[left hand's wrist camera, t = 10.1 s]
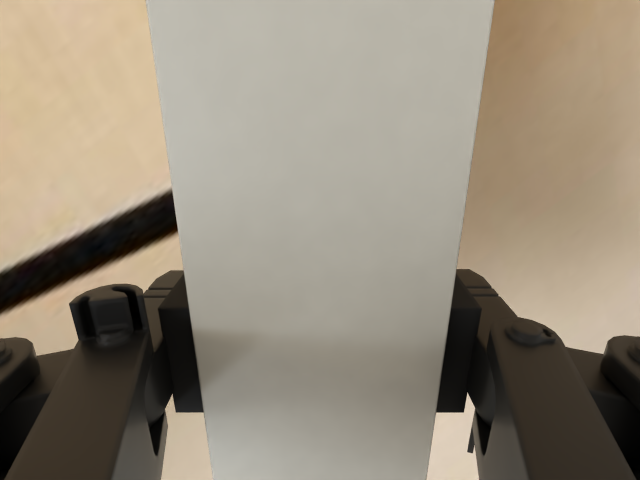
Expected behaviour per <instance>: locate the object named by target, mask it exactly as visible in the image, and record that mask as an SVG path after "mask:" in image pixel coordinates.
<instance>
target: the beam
mask: <svg viewBox="0 0 640 480" xmlns="http://www.w3.org/2000/svg"><path fill="white" fill-rule="evenodd" d="M494 2H495V0H146V6H147V13H148V20H149V27H150V34H151V41H152V48H153V55H154V63H155V70H156V77H157V84H158V91H159V98H160V105H161V112H162V119H163V126H164V134H165V141H166V148H167V155H168V162H169V169H170V176H171V183H172V190H173V197H174V204H175V212H176V219H177V226H178V233H179V240H180V247H181V254H182V261H183V268H184V275H185V283H186V290H187V297H188V304H189V311H190V318H191V325H192V332H193V339H194V346H195V353H196V361H197V368H198V375H199V382H200V389H201V396H202V403H203V410H204V417H205V424H206V431H207V439H208V446H209V453H210V460H211V467H212V474H213V480H426V479H427V472H428V465H429V458H430V451H431V444H432V437H433V430H434V423H435V415H436V408H437V401H438V394H439V387H440V380H441V373H442V366H443V359H444V352H445V345H446V338H447V331H448V324H449V317H450V310H451V303H452V296H453V289H454V282H455V275H456V268H457V261H458V254H459V247H460V240H461V233H462V226H463V219H464V212H465V205H466V198H467V191H468V184H469V177H470V170H471V163H472V156H473V149H474V142H475V135H476V128H477V121H478V114H479V107H480V100H481V93H482V86H483V79H484V72H485V65H486V58H487V51H488V44H489V37H490V30H491V23H492V16H493V9H494Z"/></svg>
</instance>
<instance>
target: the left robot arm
mask: <svg viewBox="0 0 640 480" xmlns="http://www.w3.org/2000/svg"><path fill="white" fill-rule="evenodd" d="M69 306H70V309H71V313H72V317H73V320H74V324H75V328H76V331H77V335H78V339H79V340H78V342H77V344H76V346H75V348H74V349H71V350H66V351H61V352H56V353H50V354H45V355H40V356H36V353H35V350H34V347H33V344H32V342H30V341H29V340H27V339H25V338H17V337H14V338H5V339H3V338H2V339H0V480H161V475H162V467H163V459H164V452H165V444H166V436H167V429H168V424H167V418H166V412H165V408H166V406H167V404H168V402H169V400H170V397H171V395H172V393H173V399H174V404H175V410H176V412H204V410H203V403H202V396H201V389H200V382H199V375H198V368H197V361H196V353H195V346H194V339H193V332H192V325H191V318H190V311H189V304H188V297H187V290H186V283H185V275H184V271H169V272H167V273H166V274H164V275H162V276H160V277H159V278H157V279H156V280H155V281H154V282H153V283H152V285H151V286H150V287H149V288H148V290H146V291H145V293H144V294H143V290H142V289H141V288H139V287H138V286H136V285H131V284H112V285H107V286H102V287H98V288H95V289H92V290H89V291H87V292H85V293H83V294H81V295H79V296H77V297H76V298H75V299H74V300H73V301H71V302H70V303H69ZM467 392H468V394H469V396H470V398H471V400H472V402H473V404H474V406H475V412H474V418H473V423H472V428H471V433H470V439H469V444H468V451H467V452H469V453H473V449H474V445H475V451H476V458H477V466H478V474H479V480H640V337H634V336H625V335H624V336H616V337H613V338H611V339H610V340H609V341H608V342H607V345H606V348H605V352H604V354H599V353H594V352H588V351H583V350H578V349H572V348H568V347H565V345H564V343H563V342H562V340H561V338H560V337H559V336H558V335H557V334H556V333H555V332H554V331H553V330H551V329H550V328H548V327H546V326H545V325H543V324H540V323H538V322H535V321H533V320H529V319H524V318H520V317H517V315H516V314H515V313H514V312H513V311H512V310H511V309H510V307H509V306H508V305H507V304H506V303H505V302H504V300H503V299H502V298H501V297H498V294H497V292H496V291H495V290H494V289H492V288H491V286H490V284H489V283H488V282H487V281H486V280H485V279H484V278H483V277H482V276H480V275H478V274H477V273H475V272H473V271H471V270H470V269H456V275H455V282H454V289H453V296H452V303H451V310H450V317H449V324H448V331H447V338H446V345H445V352H444V359H443V366H442V373H441V380H440V387H439V394H438V401H437V408H436V412H464V408H465V403H466V397H467Z"/></svg>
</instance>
